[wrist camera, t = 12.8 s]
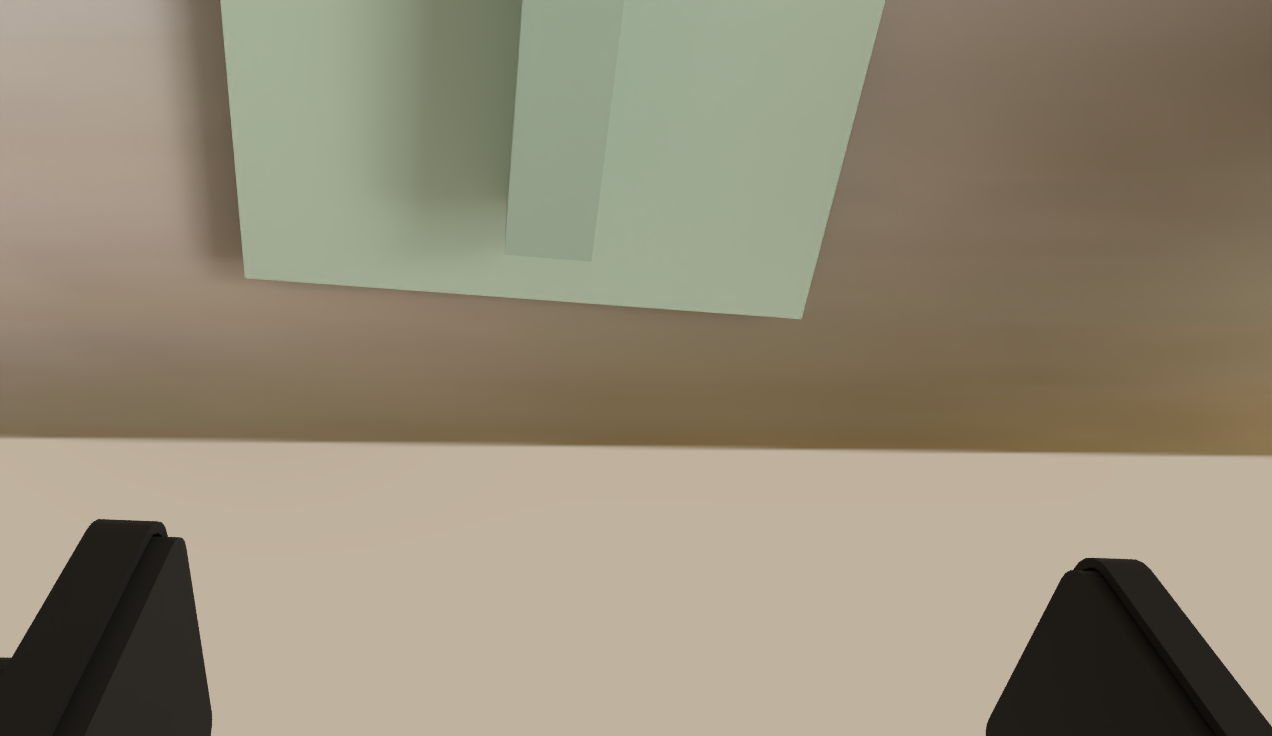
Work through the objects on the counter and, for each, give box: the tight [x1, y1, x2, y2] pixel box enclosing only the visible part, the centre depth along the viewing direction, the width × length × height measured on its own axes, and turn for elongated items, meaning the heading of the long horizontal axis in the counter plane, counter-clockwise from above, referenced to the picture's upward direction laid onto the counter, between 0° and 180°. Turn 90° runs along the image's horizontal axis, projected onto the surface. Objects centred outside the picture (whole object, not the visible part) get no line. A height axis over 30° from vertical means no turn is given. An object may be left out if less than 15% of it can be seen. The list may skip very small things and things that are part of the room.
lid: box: [220, 0, 886, 319], centre depth 28 cm, size 19×15×6 cm
